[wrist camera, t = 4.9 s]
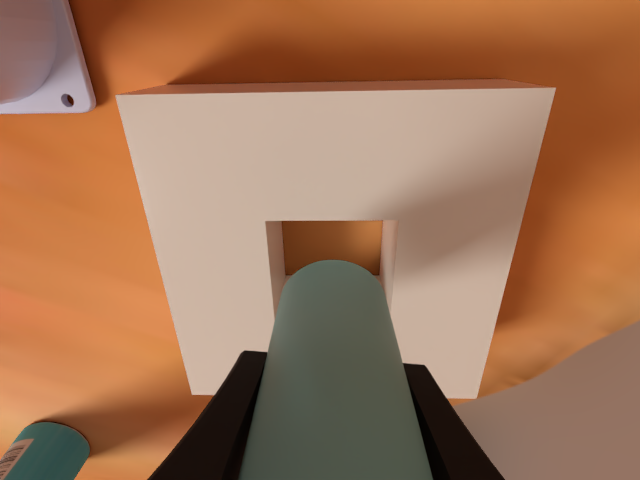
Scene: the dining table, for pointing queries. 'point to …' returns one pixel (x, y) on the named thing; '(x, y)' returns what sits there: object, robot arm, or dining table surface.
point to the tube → (45, 453)
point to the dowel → (334, 386)
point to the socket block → (337, 204)
